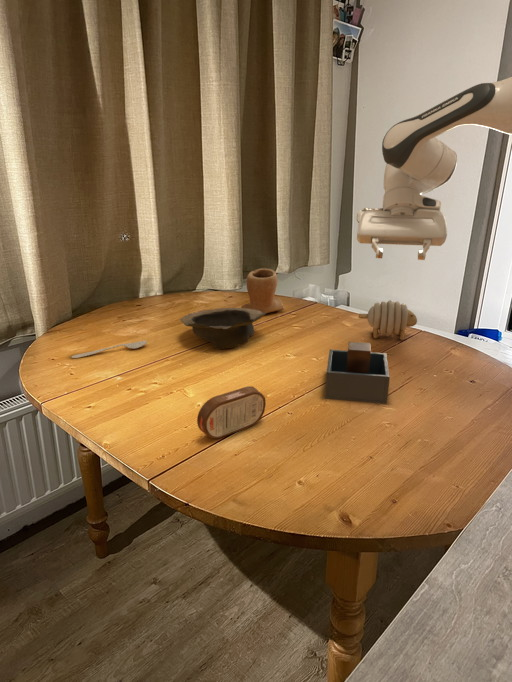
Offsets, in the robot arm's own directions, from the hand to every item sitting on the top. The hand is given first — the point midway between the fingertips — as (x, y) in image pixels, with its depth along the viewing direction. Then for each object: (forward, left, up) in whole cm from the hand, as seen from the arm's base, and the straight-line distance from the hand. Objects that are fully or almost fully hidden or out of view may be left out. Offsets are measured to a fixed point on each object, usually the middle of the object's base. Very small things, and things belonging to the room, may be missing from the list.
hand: (400, 257), depth 115 cm
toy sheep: (-1, -28, -30) cm, 40 cm away
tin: (+32, +33, -30) cm, 55 cm away
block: (+8, +9, -29) cm, 31 cm away
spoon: (+75, -1, -30) cm, 81 cm away
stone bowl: (+47, -17, -30) cm, 58 cm away
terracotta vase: (+39, -44, -30) cm, 66 cm away
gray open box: (+8, +9, -29) cm, 32 cm away
